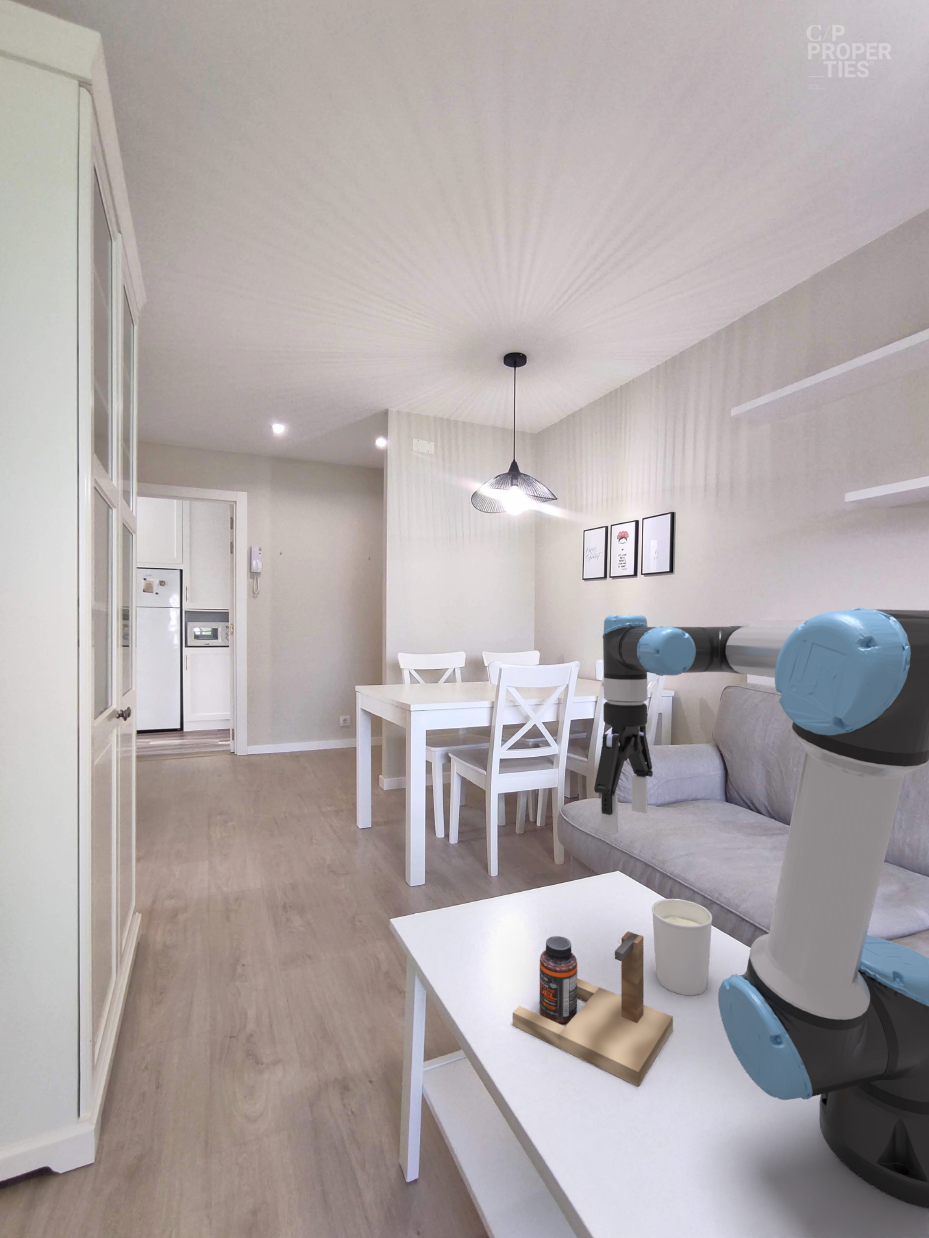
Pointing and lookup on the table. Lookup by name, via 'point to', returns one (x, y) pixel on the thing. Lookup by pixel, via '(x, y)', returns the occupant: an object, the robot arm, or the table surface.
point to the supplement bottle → (558, 980)
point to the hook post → (631, 976)
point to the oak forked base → (603, 1033)
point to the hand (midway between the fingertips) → (625, 821)
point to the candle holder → (682, 945)
